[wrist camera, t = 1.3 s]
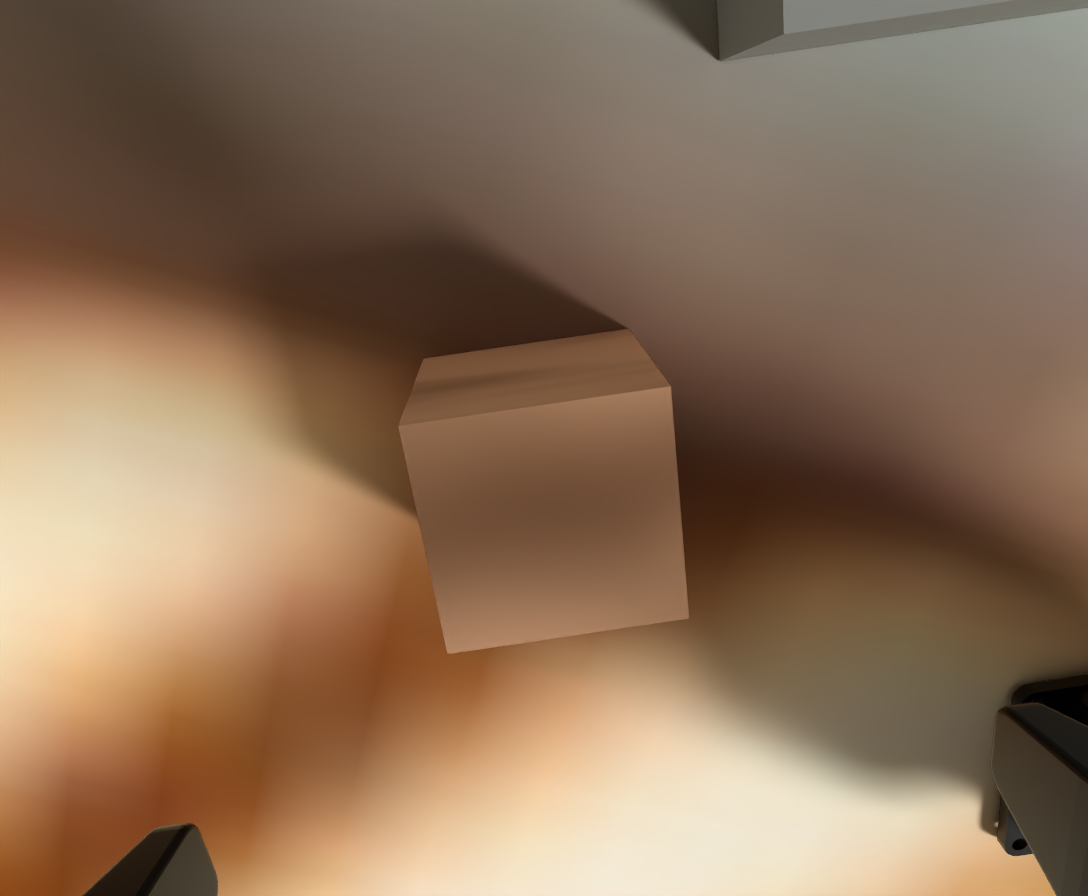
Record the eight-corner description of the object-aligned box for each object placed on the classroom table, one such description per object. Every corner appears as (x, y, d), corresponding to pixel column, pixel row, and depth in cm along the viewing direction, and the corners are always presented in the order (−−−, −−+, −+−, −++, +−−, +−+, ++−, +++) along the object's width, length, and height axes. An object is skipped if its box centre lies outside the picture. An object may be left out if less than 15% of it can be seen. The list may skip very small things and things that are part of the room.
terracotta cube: (646, 512, 20) (689, 618, 16) (459, 539, 20) (447, 654, 16) (627, 327, 19) (670, 386, 14) (423, 357, 19) (398, 425, 14)
